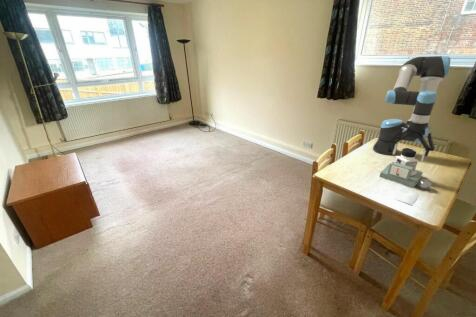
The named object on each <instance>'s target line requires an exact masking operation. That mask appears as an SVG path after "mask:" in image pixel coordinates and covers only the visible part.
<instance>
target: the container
mask: <svg viewBox="0 0 476 317" xmlns="http://www.w3.org/2000/svg"><path fill="white" fill-rule="evenodd" d="M401 150H402V151H401V154H400V155H395V159H394V161H393V162H396V163H399V164H403V165H407V166H410V167H413V170H412V172H414V171H415V170H416V168H417V166H418V163H419V159H417V158H416V156H417V155H416V154H417V150H415V149H414V148H410V147H409V148H408V147H405V148H402V149H401Z"/></svg>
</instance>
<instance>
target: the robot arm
mask: <svg viewBox="0 0 476 317" xmlns="http://www.w3.org/2000/svg"><path fill="white" fill-rule="evenodd" d="M450 66H451V57H450V56H442V55H438V56H437V55H436V56H433V55H432V56H415V57H414V58H411V59H409V60H407V61H406V62H404V63H403V64H402V66H400V68H399V70H398V78H397V80H396V82H395V84H394V87H393V89H389V90H388V91H387V93H386V95H385V103H387V104H391V105H404V106H405V105H406V106H414V107H413V109H412V114H411V116H410V118H409V119H408V120H406V122H404V121H403V120H402V119H398V118H389V119H385V120H383V121H382V122H381V125H380V129H379V135H378V136H377V137H378V138H377V140H376V141H375V143H374V144H373V146H372V150H373V152H375V153H378V154H381V155H385V156H393V155H397V153H398V146H399V142H401V141H405V142H411V143H418V144H419V143H421V144H422V146H423V147H424V151H423V153H422V156H421V158H420V162H422V163H423V161H424V159H425V157H428V156H429V154H430V153H429V152H433V151H435V149H436V148H435V147H436V146H435V144H434V141H433V136H432V135H433V132H431V131H430V129H431V126H430V125H429V123H430V122H429V121H430V119H431V114H432V113H433V112H432V111H433V109H434V106H435V103H436V101H437V97H438V93H437V90H438V86H439V84H440V82H442V81H443V80H444V78H446V77H447V76H448V75H449V70H450ZM417 76H418V77H420V78H419V80H420V81H421V83H420V87H419V89H418V91H416V90H415V91H413V90H412V91H411V90H410V87H411V84H412V81H413V79H414V77H417ZM429 131H430V132H429ZM426 137H427V141H428V143H427V141H426V140H425V139H426Z"/></svg>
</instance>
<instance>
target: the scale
mask: <svg viewBox="0 0 476 317" xmlns="http://www.w3.org/2000/svg"><path fill="white" fill-rule="evenodd" d="M412 170H413V167H410V166H407V165H403V164H399V163H396V162H394V161H392V162H390V163H389V164H388V165H387V166H385V168H383V169H382V170H381V171H380V174H379V178H382V179H384V180H388V181H391V182H395V183H397V184H401V185H403V186H405V187H406V186H407V187H409V188H415V187H416V185H417V184H418V183H419V181H420V180H421V178H422V176H423V173H424V171H422V170H418V169H415V171H414V172H412Z"/></svg>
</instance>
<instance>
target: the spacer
mask: <svg viewBox="0 0 476 317" xmlns="http://www.w3.org/2000/svg"><path fill="white" fill-rule="evenodd" d="M417 184H418V185H417V186H416V187H417V189H420V190H421V191H425V192H426V191H429V190H430V188H431V185H432V182H431V181H430V180H427V179H421V178H420V179H419V181H418V182H417Z"/></svg>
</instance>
